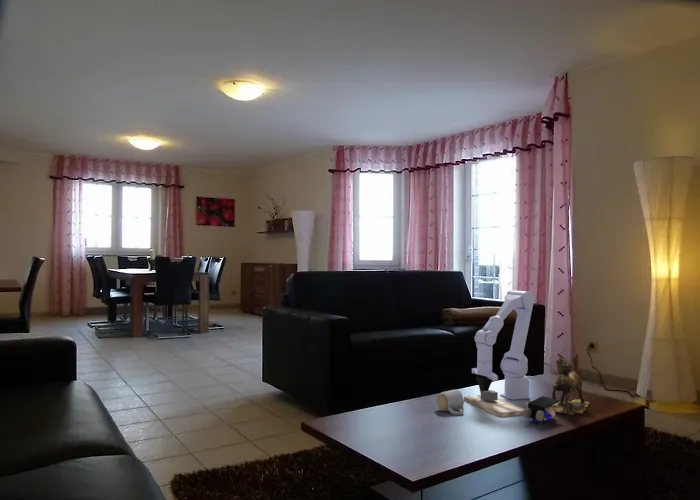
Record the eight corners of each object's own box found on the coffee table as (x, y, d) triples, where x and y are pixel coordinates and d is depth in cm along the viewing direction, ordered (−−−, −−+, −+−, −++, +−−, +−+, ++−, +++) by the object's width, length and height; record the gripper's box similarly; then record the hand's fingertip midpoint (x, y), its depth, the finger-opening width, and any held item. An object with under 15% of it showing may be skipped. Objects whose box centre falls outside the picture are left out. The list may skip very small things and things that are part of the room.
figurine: (541, 410, 194) (542, 356, 195) (567, 398, 212) (568, 349, 213) (576, 418, 186) (577, 361, 186) (600, 405, 203) (601, 354, 204)
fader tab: (491, 397, 203) (491, 389, 203) (497, 400, 199) (497, 392, 200) (480, 398, 201) (480, 390, 202) (486, 401, 198) (486, 392, 198)
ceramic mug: (434, 408, 193) (435, 389, 193) (451, 406, 196) (452, 387, 196) (451, 417, 184) (452, 396, 184) (469, 414, 187) (470, 394, 187)
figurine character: (541, 432, 173) (560, 418, 184) (540, 410, 172) (559, 397, 183) (522, 427, 178) (541, 414, 188) (521, 406, 177) (541, 393, 188)
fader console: (489, 398, 210) (489, 394, 210) (527, 414, 189) (527, 409, 189) (463, 400, 206) (463, 396, 206) (499, 416, 184) (500, 412, 184)
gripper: (465, 357, 209) (465, 391, 209) (487, 364, 196) (486, 400, 195) (480, 357, 212) (479, 390, 211) (502, 363, 198) (501, 399, 198)
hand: (484, 395), depth 204 cm, fingers closed
